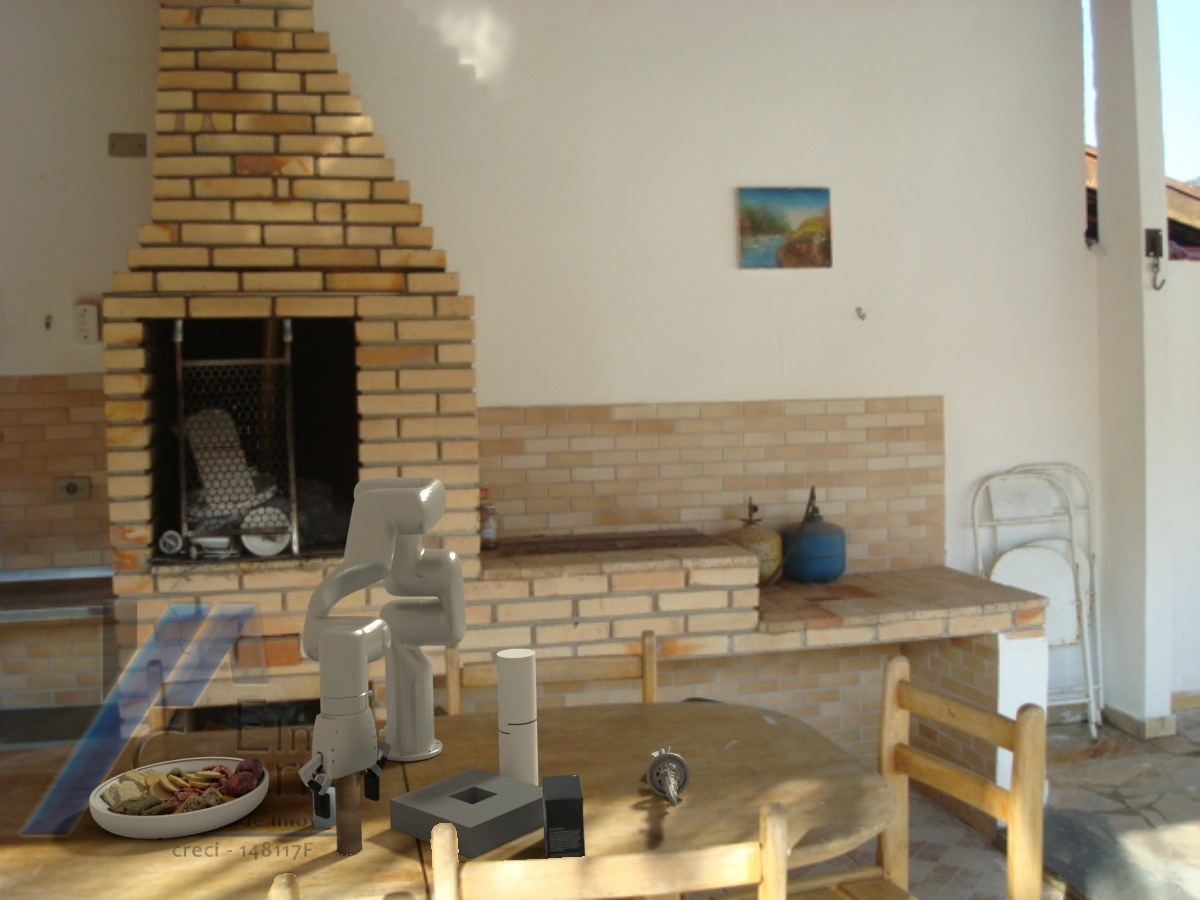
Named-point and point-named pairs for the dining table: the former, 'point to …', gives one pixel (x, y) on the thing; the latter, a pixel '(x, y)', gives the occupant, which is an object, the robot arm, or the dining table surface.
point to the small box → (563, 816)
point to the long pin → (348, 814)
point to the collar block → (471, 810)
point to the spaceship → (668, 774)
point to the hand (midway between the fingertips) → (347, 807)
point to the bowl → (179, 797)
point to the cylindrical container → (517, 714)
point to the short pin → (330, 822)
